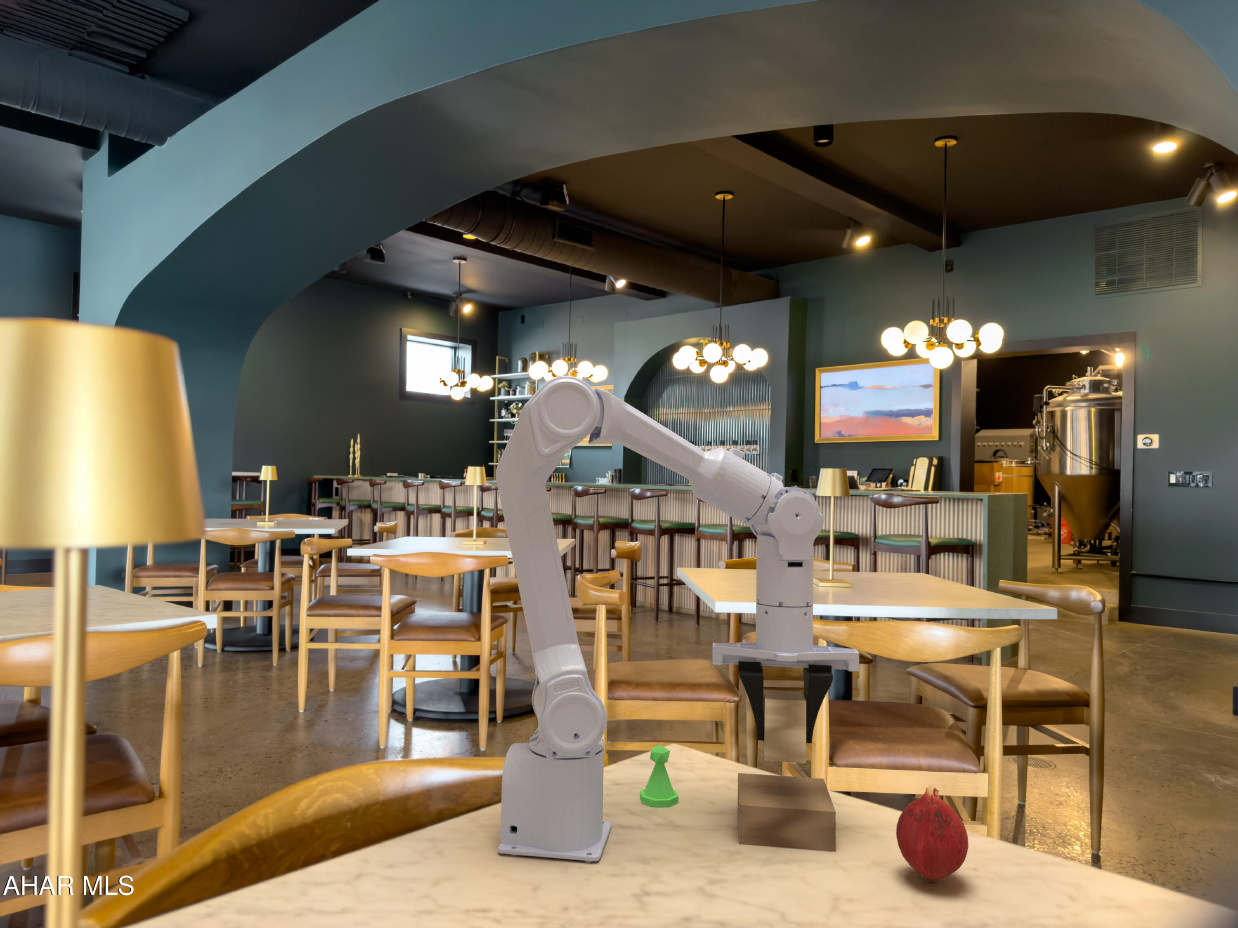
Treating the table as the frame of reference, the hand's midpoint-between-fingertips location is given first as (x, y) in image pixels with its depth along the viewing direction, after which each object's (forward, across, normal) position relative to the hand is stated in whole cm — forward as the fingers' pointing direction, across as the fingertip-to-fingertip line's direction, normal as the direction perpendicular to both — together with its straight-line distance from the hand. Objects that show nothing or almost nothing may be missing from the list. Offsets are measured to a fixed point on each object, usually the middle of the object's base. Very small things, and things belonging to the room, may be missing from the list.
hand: (783, 738), depth 77 cm
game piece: (+9, -13, +5) cm, 17 cm away
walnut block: (+9, 0, 0) cm, 9 cm away
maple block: (+2, 0, 0) cm, 2 cm away
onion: (+9, +12, -9) cm, 17 cm away
